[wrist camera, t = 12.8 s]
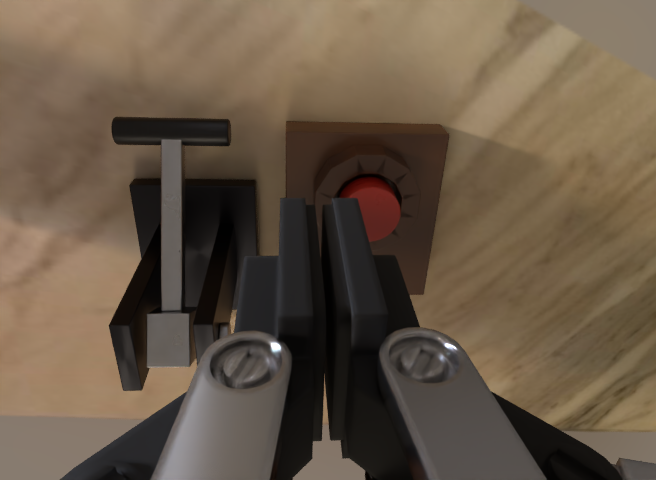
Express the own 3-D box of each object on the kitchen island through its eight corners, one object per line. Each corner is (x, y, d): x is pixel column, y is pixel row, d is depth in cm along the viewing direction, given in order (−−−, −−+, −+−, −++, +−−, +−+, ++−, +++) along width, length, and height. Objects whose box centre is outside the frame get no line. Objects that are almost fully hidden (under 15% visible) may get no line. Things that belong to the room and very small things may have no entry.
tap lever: (123, 122, 28) (107, 111, 26) (232, 124, 28) (226, 114, 26) (123, 357, 28) (108, 368, 26) (232, 355, 29) (226, 366, 26)
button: (339, 175, 30) (341, 187, 29) (398, 176, 30) (404, 187, 29) (336, 228, 32) (338, 242, 30) (392, 228, 32) (397, 242, 31)
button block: (286, 121, 32) (285, 141, 28) (440, 124, 33) (458, 144, 29) (286, 278, 38) (285, 311, 34) (417, 278, 39) (429, 310, 35)
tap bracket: (133, 177, 33) (63, 277, 23) (256, 179, 34) (241, 276, 23) (153, 301, 38) (103, 428, 28) (260, 300, 39) (249, 424, 28)
